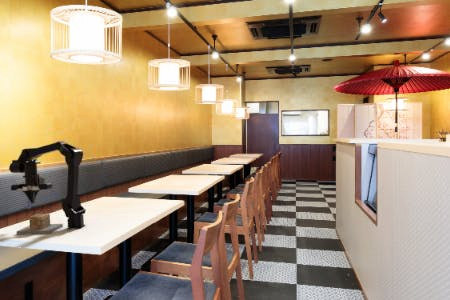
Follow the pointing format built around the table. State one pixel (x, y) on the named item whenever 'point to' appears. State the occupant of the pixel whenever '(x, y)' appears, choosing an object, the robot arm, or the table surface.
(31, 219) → the shipping carton
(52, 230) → the gray rectangular slab
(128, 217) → the table surface
